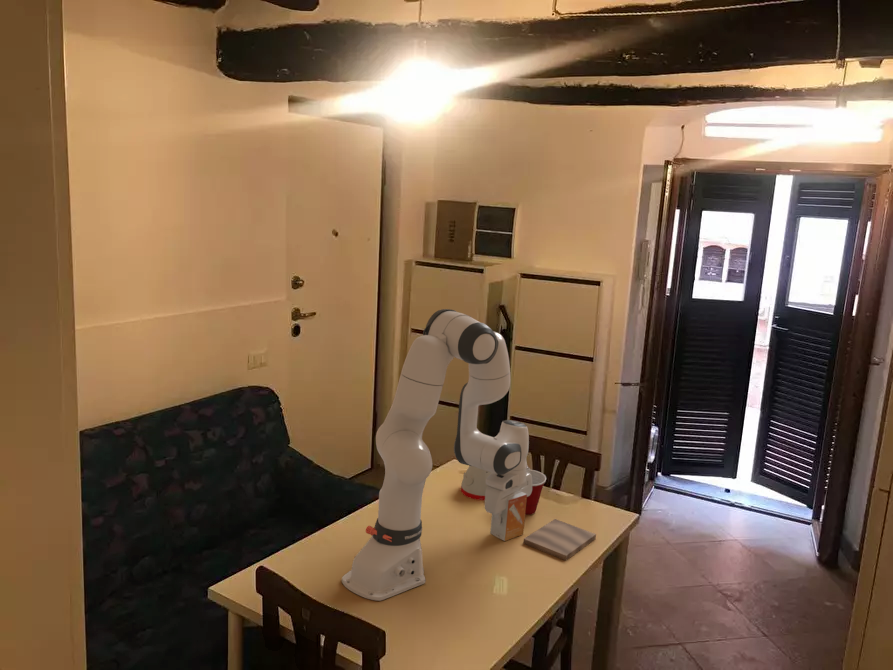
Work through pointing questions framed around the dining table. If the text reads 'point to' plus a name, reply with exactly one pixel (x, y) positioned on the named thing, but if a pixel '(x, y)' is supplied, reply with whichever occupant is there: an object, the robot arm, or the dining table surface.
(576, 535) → the walnut board
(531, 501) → the plastic cup
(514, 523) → the small box
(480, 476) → the kitchen timer
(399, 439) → the robot arm
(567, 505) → the dining table surface
